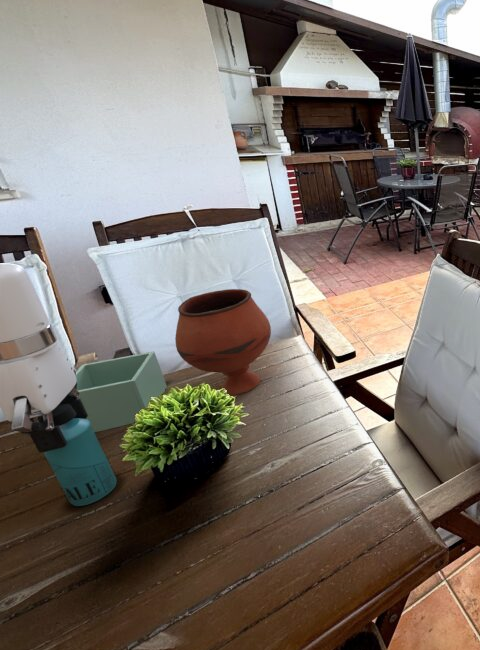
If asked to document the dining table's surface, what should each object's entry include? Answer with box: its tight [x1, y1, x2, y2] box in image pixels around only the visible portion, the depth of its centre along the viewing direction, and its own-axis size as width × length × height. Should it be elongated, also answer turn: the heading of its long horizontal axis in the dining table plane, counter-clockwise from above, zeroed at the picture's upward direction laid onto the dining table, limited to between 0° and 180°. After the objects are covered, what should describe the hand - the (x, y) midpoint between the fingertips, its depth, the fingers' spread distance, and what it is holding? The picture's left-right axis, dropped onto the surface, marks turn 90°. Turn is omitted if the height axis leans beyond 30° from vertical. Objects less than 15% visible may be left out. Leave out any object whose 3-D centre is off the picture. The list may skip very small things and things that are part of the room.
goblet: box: [174, 288, 272, 396], centre depth 100 cm, size 19×19×25 cm
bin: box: [75, 351, 168, 434], centre depth 94 cm, size 14×14×11 cm
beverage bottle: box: [37, 404, 118, 507], centre depth 70 cm, size 6×7×20 cm
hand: (65, 433), depth 68 cm, fingers closed on beverage bottle, 6 cm apart
